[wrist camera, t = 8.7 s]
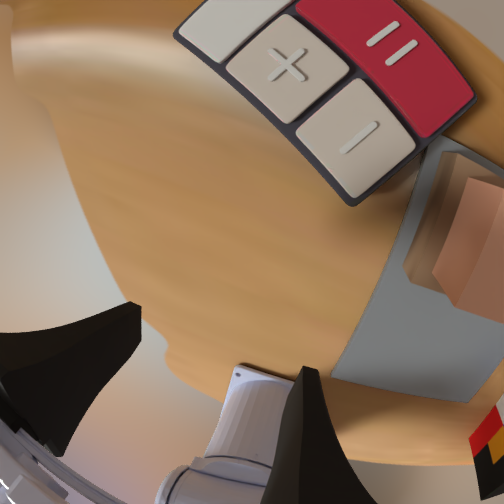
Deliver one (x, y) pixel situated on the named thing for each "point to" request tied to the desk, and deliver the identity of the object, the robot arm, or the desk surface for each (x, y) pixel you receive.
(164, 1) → the desk surface
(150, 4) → the desk surface
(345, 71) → the calculator
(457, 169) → the walnut base brick
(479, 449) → the puzzle toy
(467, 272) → the terracotta brick
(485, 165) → the baseplate
